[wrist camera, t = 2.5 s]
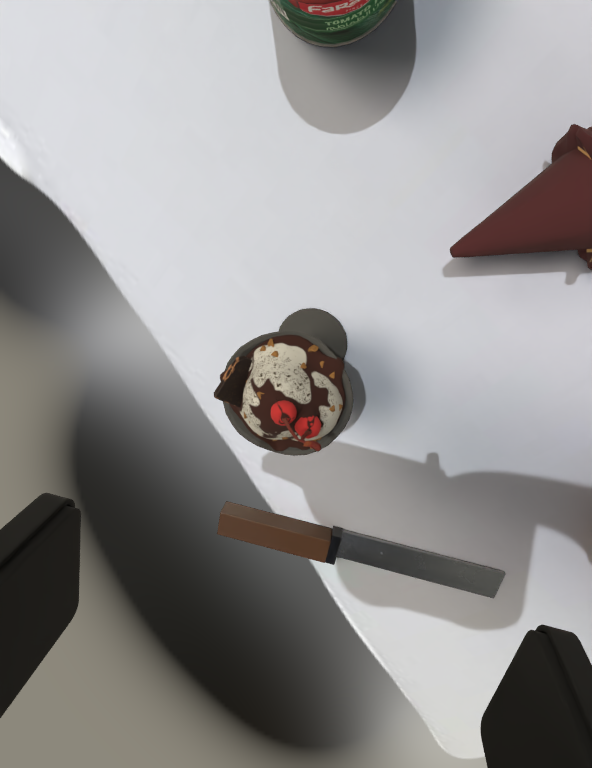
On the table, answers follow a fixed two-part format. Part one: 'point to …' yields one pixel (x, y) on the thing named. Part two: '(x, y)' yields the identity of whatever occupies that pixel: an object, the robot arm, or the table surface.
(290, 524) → the knife
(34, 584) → the robot arm
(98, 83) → the table surface
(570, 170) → the icecream
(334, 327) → the sundae
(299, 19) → the canned tomato
